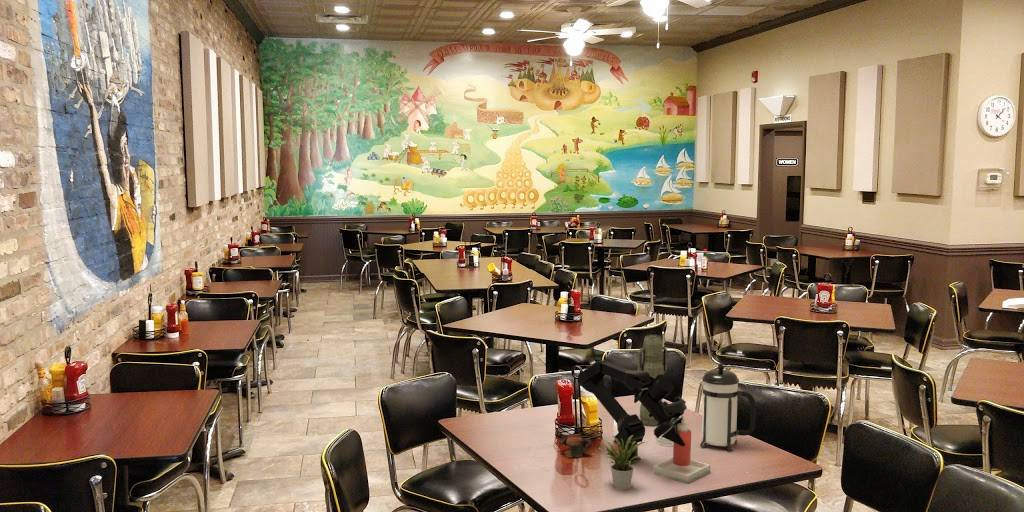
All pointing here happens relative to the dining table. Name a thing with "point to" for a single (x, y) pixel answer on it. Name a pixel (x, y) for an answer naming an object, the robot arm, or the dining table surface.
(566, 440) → the pottery mug
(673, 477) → the tray
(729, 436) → the coffee press
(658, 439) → the cream round disc
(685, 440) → the squeeze bottle
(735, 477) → the dining table surface
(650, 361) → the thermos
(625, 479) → the house plant
